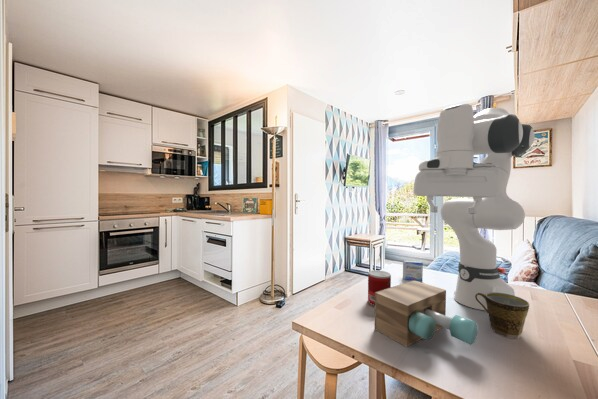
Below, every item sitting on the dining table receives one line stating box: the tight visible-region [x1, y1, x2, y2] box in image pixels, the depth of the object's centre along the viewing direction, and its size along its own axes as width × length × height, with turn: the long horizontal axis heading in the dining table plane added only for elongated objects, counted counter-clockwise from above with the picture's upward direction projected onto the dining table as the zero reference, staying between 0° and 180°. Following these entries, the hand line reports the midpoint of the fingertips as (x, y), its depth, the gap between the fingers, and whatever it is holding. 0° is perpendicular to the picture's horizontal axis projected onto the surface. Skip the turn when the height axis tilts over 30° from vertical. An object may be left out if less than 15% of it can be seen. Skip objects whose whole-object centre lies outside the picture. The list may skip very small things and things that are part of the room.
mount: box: [374, 280, 447, 348], centre depth 74 cm, size 20×15×11 cm
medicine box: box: [402, 259, 424, 282], centre depth 120 cm, size 8×4×9 cm, turn 81°
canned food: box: [367, 270, 392, 306], centre depth 93 cm, size 8×8×11 cm
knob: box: [424, 308, 478, 346], centre depth 68 cm, size 6×14×6 cm, turn 34°
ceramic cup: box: [475, 292, 530, 340], centre depth 75 cm, size 13×10×10 cm
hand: (452, 213), depth 70 cm, fingers open, 8 cm apart
